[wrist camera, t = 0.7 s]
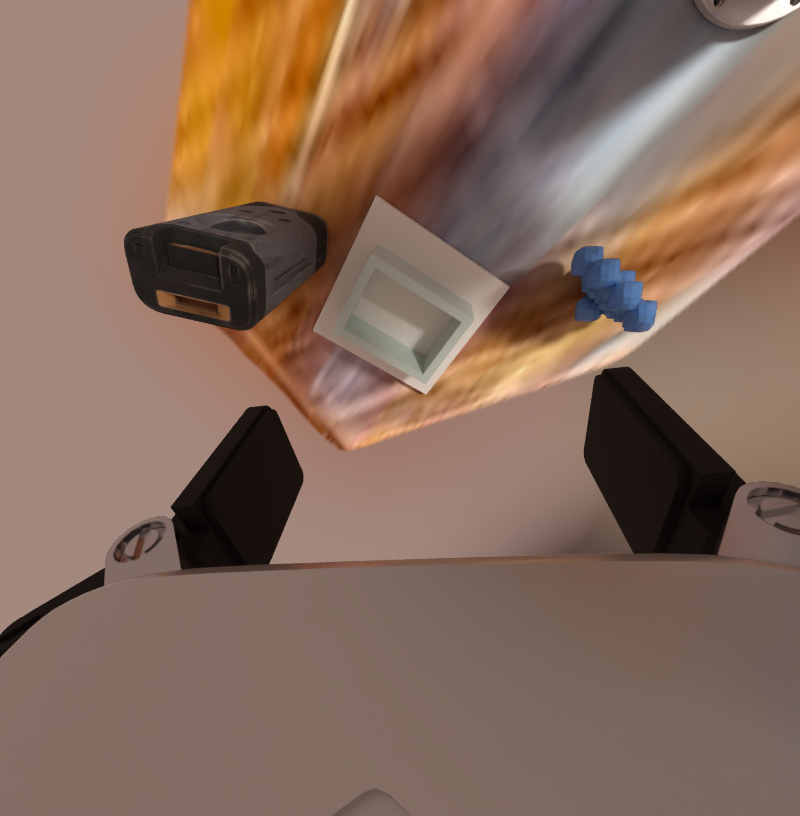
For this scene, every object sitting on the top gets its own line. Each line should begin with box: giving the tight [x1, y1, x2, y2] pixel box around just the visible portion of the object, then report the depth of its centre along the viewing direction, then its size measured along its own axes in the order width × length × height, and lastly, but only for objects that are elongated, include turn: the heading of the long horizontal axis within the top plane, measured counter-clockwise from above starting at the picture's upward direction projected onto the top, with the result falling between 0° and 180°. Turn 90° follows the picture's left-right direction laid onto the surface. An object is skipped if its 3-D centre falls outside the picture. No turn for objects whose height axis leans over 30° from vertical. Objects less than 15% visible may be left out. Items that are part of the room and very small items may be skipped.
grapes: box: [571, 246, 657, 332], centre depth 36 cm, size 12×7×12 cm, turn 50°
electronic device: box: [124, 202, 328, 330], centre depth 33 cm, size 9×6×20 cm, turn 78°
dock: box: [313, 195, 510, 394], centre depth 43 cm, size 18×18×6 cm
